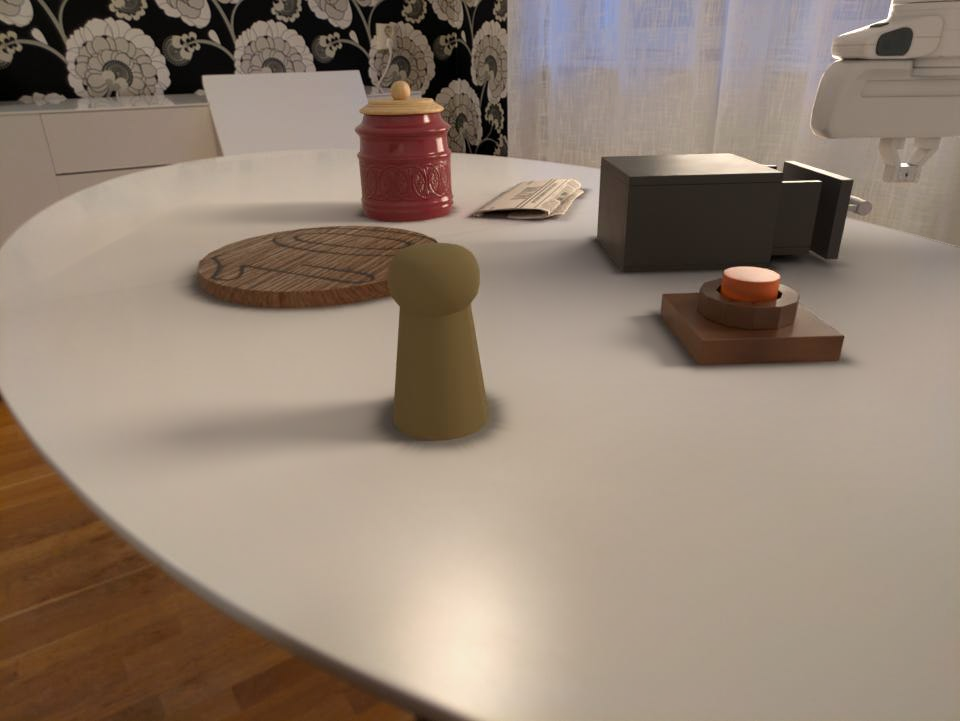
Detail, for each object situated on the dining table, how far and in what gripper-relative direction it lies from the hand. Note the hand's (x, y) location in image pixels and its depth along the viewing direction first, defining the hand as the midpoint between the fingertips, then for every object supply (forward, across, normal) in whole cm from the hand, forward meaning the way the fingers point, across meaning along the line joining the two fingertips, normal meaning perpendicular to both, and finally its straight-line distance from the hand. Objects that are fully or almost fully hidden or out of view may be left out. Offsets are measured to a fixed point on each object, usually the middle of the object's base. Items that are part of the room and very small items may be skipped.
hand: (899, 182), depth 71 cm
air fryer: (+8, +23, 0) cm, 24 cm away
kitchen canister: (+8, +54, -25) cm, 60 cm away
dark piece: (+7, +13, 0) cm, 15 cm away
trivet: (+8, +61, +2) cm, 62 cm away
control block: (+8, +25, +24) cm, 36 cm away
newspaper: (+8, +35, -29) cm, 46 cm away
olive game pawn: (+8, +48, +35) cm, 60 cm away
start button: (+4, +25, +24) cm, 35 cm away
